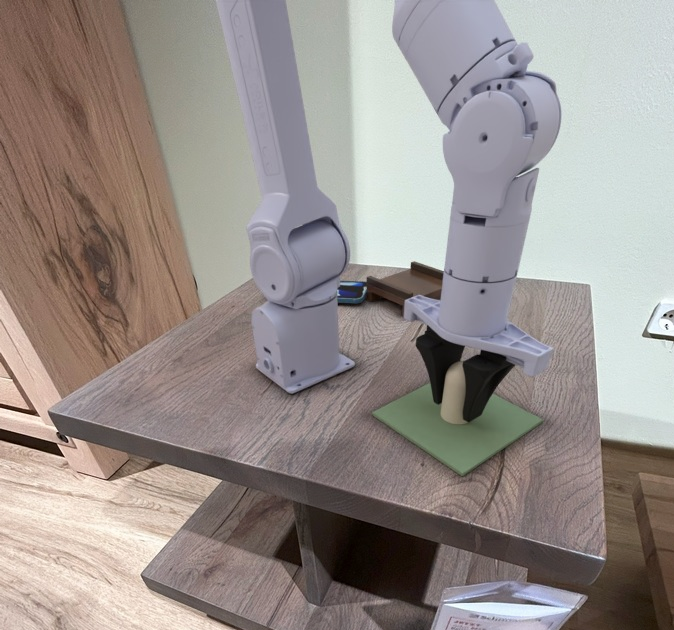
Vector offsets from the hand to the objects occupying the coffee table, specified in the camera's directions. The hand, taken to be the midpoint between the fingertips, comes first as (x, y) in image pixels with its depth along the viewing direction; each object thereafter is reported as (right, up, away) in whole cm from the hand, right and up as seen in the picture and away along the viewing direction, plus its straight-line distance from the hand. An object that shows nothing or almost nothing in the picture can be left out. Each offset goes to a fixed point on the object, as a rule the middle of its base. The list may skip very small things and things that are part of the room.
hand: (457, 408), depth 45 cm
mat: (0, -1, +1) cm, 1 cm away
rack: (-1, +19, +24) cm, 30 cm away
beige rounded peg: (0, -1, +1) cm, 1 cm away
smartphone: (-15, +21, +27) cm, 37 cm away
